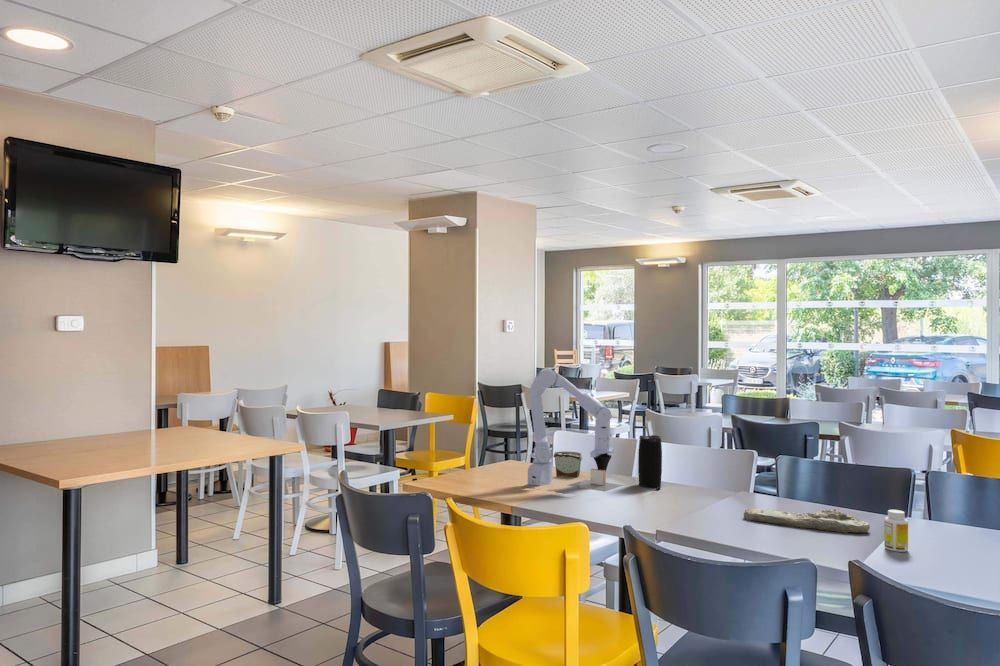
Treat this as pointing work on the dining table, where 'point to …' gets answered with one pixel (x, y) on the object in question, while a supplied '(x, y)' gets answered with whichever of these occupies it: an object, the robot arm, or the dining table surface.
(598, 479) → the tile
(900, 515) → the supplement bottle
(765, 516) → the long grey stone
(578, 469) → the food container
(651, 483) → the portable speaker
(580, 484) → the slate board
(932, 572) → the dining table surface
